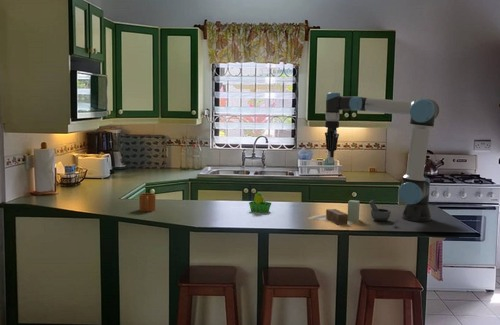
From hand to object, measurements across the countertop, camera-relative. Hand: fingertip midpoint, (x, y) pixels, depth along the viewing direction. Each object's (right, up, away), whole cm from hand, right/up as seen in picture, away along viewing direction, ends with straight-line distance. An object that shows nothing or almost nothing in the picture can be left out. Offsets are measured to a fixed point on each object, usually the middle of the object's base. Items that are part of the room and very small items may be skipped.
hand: (330, 162), depth 298 cm
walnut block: (-3, -27, -20) cm, 33 cm away
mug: (-103, -27, -2) cm, 106 cm away
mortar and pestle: (+22, -32, -21) cm, 44 cm away
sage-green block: (+8, -30, -22) cm, 38 cm away
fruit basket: (-40, -28, +3) cm, 49 cm away
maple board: (-2, -31, -21) cm, 37 cm away
